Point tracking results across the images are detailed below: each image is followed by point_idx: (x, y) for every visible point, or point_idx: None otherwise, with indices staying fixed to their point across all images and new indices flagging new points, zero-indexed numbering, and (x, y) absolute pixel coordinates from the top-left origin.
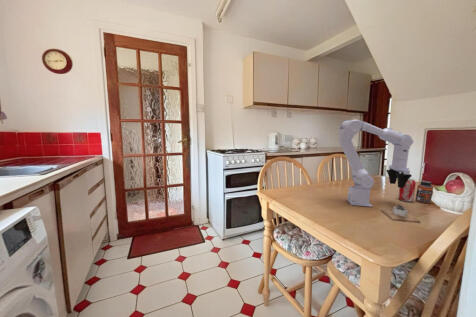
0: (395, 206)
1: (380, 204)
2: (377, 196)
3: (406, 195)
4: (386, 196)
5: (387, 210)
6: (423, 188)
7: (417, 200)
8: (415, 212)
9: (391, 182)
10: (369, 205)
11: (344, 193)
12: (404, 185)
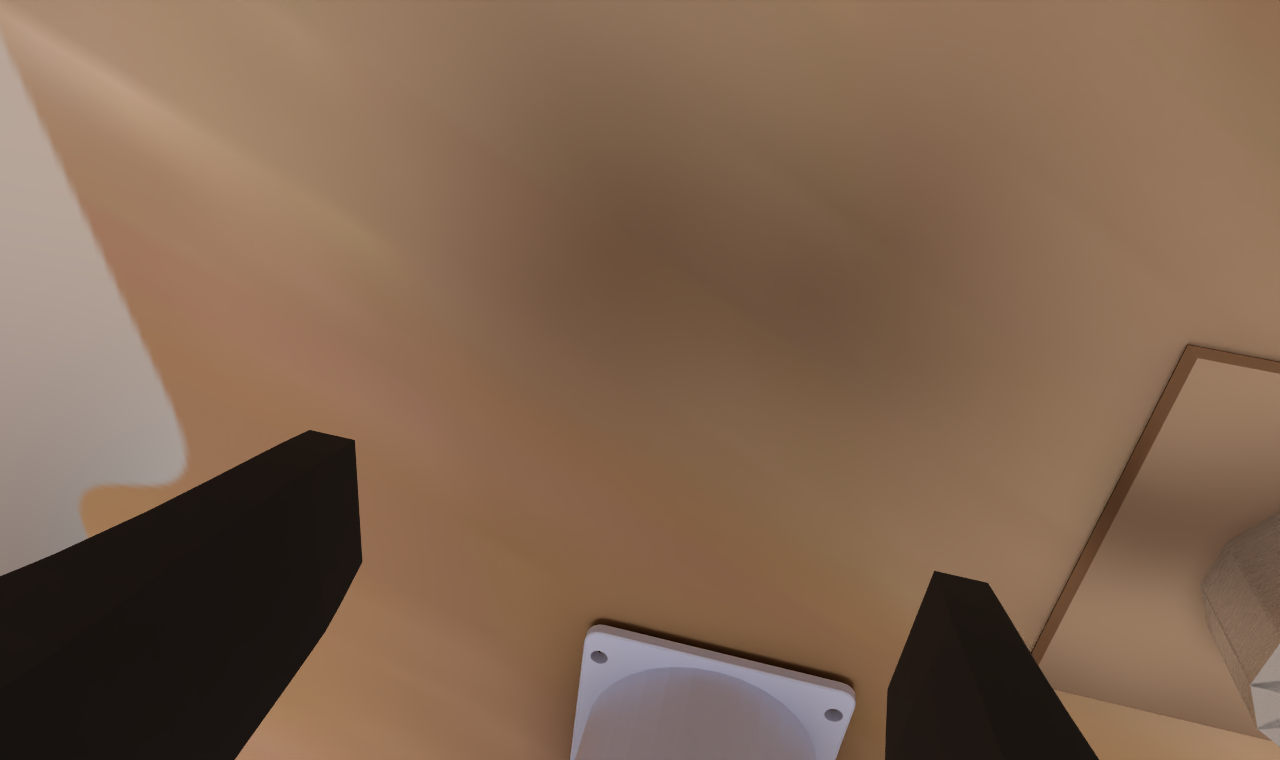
0: (1256, 686)
1: (704, 481)
2: (187, 229)
3: None
4: (94, 3)
5: (1083, 623)
6: None
7: None
8: (1181, 87)
9: (334, 572)
10: (823, 711)
11: None
12: (1034, 671)
